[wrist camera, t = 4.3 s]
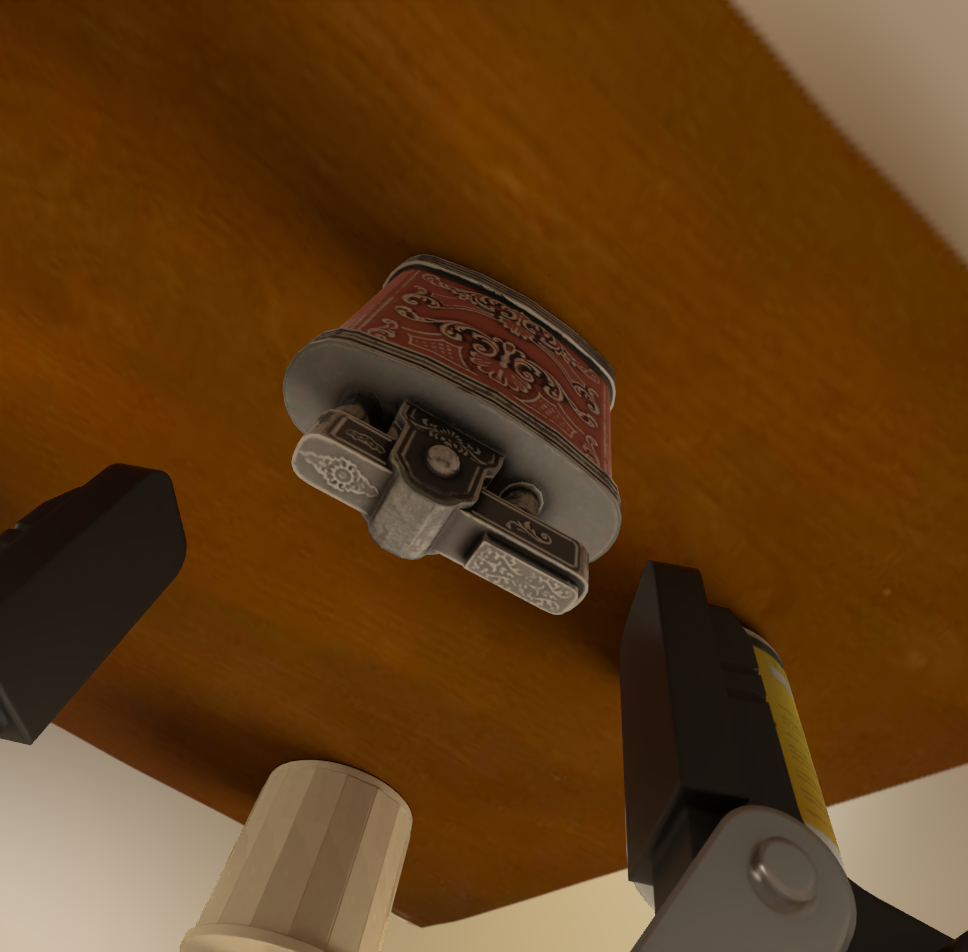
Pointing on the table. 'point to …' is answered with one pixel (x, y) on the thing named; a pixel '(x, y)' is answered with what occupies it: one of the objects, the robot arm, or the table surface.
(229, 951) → the pot lid
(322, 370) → the lighter
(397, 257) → the table surface
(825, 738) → the table surface
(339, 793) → the pot
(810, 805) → the pill bottle
